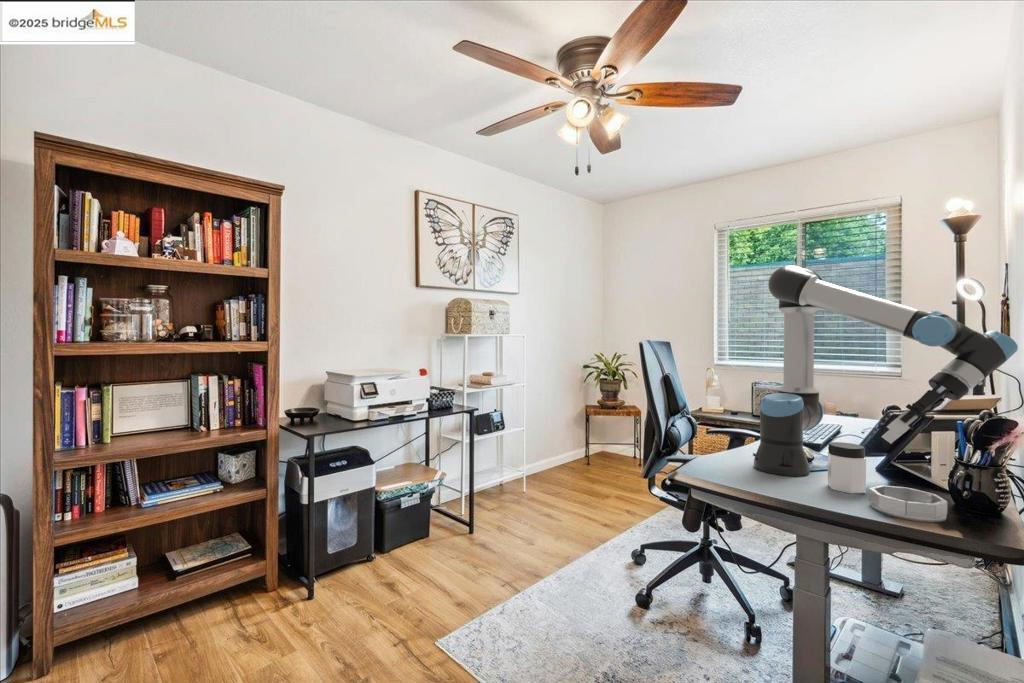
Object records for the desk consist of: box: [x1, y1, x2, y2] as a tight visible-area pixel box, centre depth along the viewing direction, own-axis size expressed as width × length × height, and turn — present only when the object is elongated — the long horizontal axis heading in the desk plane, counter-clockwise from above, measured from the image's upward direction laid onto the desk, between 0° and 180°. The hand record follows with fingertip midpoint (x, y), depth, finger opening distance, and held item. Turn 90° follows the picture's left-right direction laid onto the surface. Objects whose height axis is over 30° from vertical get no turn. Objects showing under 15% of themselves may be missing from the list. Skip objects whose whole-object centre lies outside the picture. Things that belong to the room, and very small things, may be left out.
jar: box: [827, 441, 867, 495], centre depth 127 cm, size 9×8×12 cm
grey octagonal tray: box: [869, 484, 948, 523], centre depth 111 cm, size 14×14×4 cm
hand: (888, 435), depth 125 cm, fingers open, 13 cm apart
